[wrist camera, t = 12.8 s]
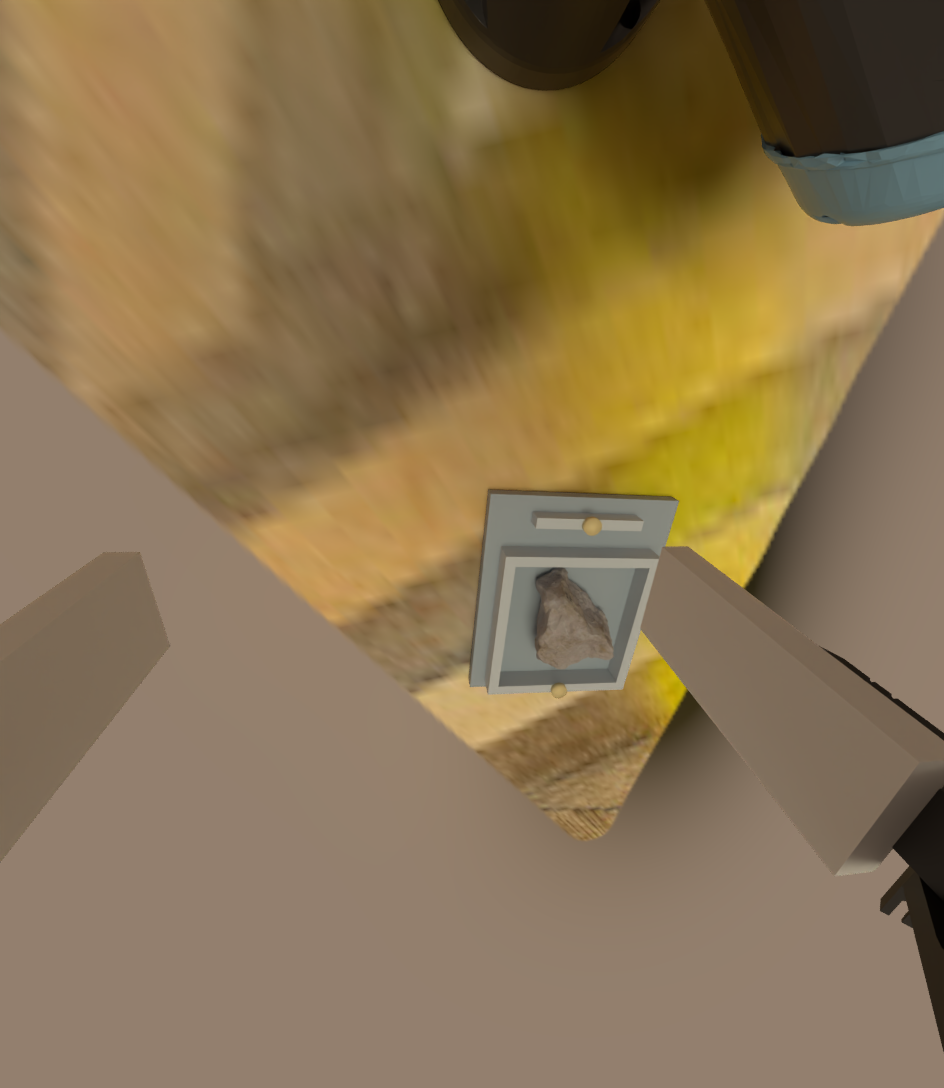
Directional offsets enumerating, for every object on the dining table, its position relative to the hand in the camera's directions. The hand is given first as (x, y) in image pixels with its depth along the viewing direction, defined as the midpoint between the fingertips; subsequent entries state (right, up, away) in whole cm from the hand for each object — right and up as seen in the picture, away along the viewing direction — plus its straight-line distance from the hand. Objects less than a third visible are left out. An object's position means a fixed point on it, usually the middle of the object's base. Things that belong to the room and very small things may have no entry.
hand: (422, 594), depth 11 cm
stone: (+10, -5, +32) cm, 34 cm away
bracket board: (+11, -4, +33) cm, 35 cm away
